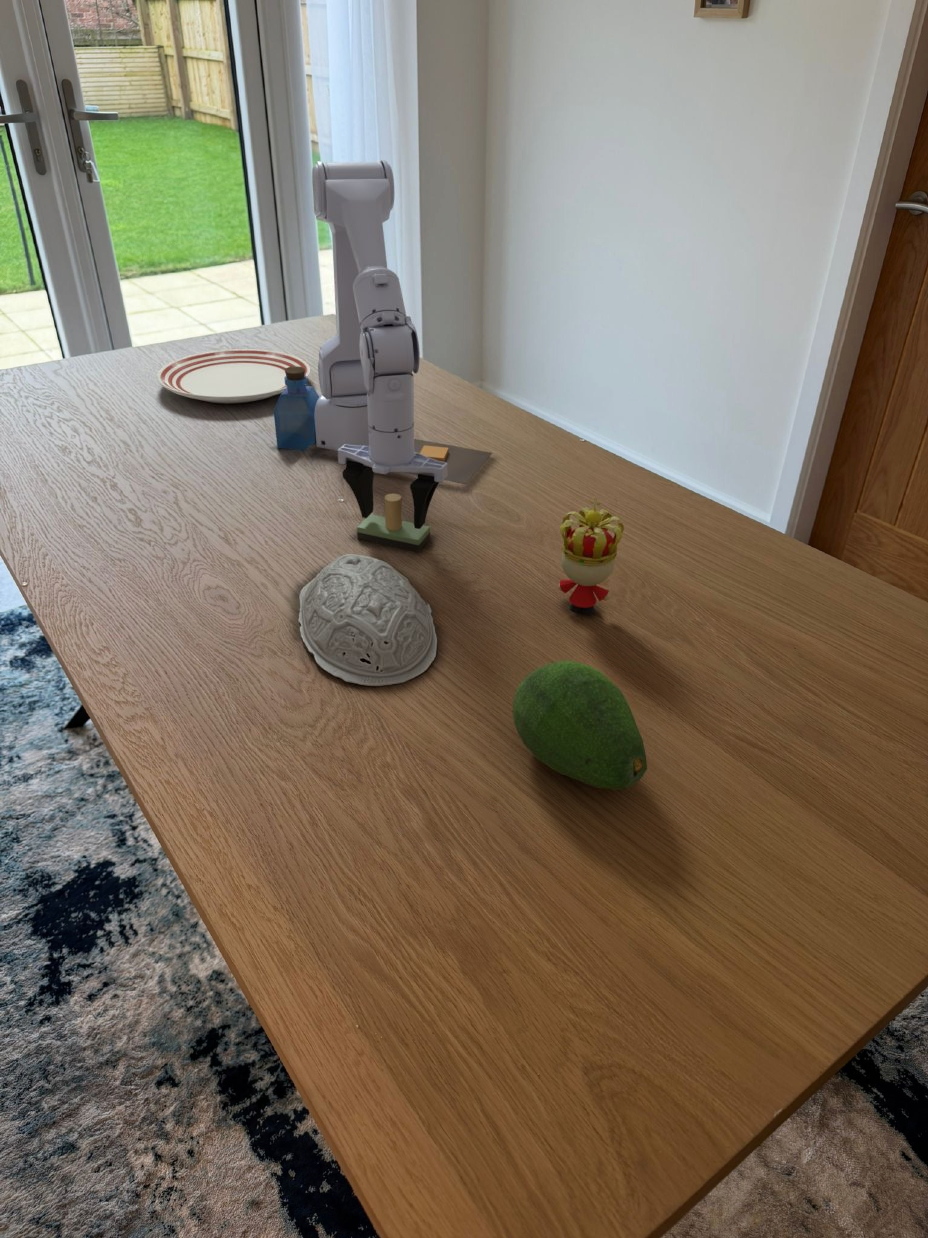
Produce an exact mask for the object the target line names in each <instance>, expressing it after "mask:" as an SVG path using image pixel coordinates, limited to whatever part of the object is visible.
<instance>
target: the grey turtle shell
mask: <svg viewBox="0 0 928 1238" xmlns="http://www.w3.org/2000/svg"><path fill="white" fill-rule="evenodd" d="M298 598H299V613H298V623H299V624H300V627H299V631H300V637H301V639H302V641H303V643H304V645H305V647H306V648H307V650H308V652H309V653H311V654H313V657H314V660H315V662H316V663H317V665H318V666H319V667H320V668H322V670H324V671H326V672H327V673H329V674H330V675H332V676H334V677H336V678H340V679H341V680H343V682H346V683H352V684H358V685H360V686H368V687H382V686H392V685H399V684H404V683H406V682H408V681H410V680H412V679H414V678H416V677H418V676H420V675H421V674H423V673H424V672H426V671H427V670H428V669H429V667H430V666H431V664H432V663H433V661H435V658H436V656H437V647H438V638H437V633H436V627H435V625H434V618H433V616H432V612H433V611H432V608H431V606H430V603H428V602H427V601H426V602H425V600H424V599H422V597H421V595H420V593H418V591H417V590H416V588H414V586H413V585H411V584H410V581H409V579H408V578H407V577H406V576H404V575H403V574H401V573H400V572H399V571H397V569H395V568H394V567H393V565H391V564H389V563H387V562H386V561H383V560H381V559H379V558H375V557H371V556H370V555H365V554H356V553H353V554H352V553H346V554H343V555H340V556H336V558H335V559H333V560H332V561H331V562H329V564H327V565H325V566H324V567H323V568H322V569H321V570H320V572H319V573H316V576H315V577H314V578H312V579H311V580H310V581H309V582H307V584H306V585H305V586H303V587H302V589H301V590H300V592H299V596H298ZM344 653H345V654H344ZM367 654H368V655H367ZM361 659H364V660H366V661H369V662H370V663H368V662H366V661H364V662H363V661H362V660H361ZM377 667H378V669H377Z"/></svg>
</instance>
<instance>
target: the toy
mask: <svg viewBox="0 0 928 1238" xmlns="http://www.w3.org/2000/svg"><path fill="white" fill-rule="evenodd" d="M593 500H594V501H592V500H589V505H590V504H591V505H592V504H593V509H591V507H581V508H580V509H579V511H578V512H577V511H573V510H572V511H569V512H567V513H566V514H565V515H564V516H563V518H562V523H561V525H560V526H559V527H560V528H559V531H560V534H561V536H562V540H563V541H562V544H561V545H562V547H561V551H562V552H561V561H560V562H561V567H562V570H563V572H564V574H565V575H566V577H567V578H568V579H560V580H559V583H558V585H557V589H558V590H559V591H560V592H562V593H564V594H567V593H568V592H569V591H571V590H572V589H573V588H574V587H575V589H574V590H573V592H571V594H570V595H569V597H568V600H569V602H570V604H569V609H570V611H572V612H574V613H582V614H584V615H588V616H589V615H592V614H594V613H595V611H596V610H595V605H596V604H597V600H598V601H599V602H601V601H606V602H607V601H609V600H610V599H611V593H610V590H608V589H606V588H604V587H601V586H599V585H600V584H601V583H603V582H605V581H606V580H607V579H609V577H610V575H611V574H612V573H613V572H614V568H615V564H616V558H617V554H618V544H619V543H620V542H621V540H622V539H623V533H624V530H625V525H624V523H623V521H622V520H621V519H620V518H619V517H618V516H617V515H616V516H615V515H614V516H613V515H612V513H611V511H609V510H607V509H603V508H601V509H600V510H599V511H598V510H597V509H596V508H597V507H596V505H597V506H599V507H600V506H601V504H602V503H601V502H597V501H598V498H596V497H594V498H593ZM571 515H573V517H574V518H575V519H577V520H573V519H572V518H570V517H571ZM612 522H613V523H614V522H617V524H618V526H617V525H613V524H611V523H612ZM576 524H577V525H578V527H576V528H574V529H573V528H572V526H573V525H576ZM608 530H609V531H612V532H613V534H614V536H612V535H611V533H609V531H608Z"/></svg>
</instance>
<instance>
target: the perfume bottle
mask: <svg viewBox="0 0 928 1238" xmlns="http://www.w3.org/2000/svg"><path fill="white" fill-rule="evenodd" d="M285 373H286V376H285V378H284V379H285V385H287V387H286V388H285V389H284V391H283V392H282V393H280V394H279V398H278V399H277V400H278V401H277V402H276V405H275V407H274V409H273V419H274V428H275V437H276V447H277V449H283V450H299V451H307V450H308V449H309V448H310V446H312V445H315V444H316V431H315V417H314V415H315V407H316V403H317V401H318V399H319V397H320V395H319V394H318V393H317V391H316V390H315V389H314V387H313V386H309V385H308V386H307V384H308V377H306V375H304V374H305V368H303V367H298V366H293V367H288V368H286V369H285Z"/></svg>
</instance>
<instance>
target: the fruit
mask: <svg viewBox="0 0 928 1238" xmlns="http://www.w3.org/2000/svg"><path fill="white" fill-rule="evenodd" d="M511 712H512V719H513V724H514V727H515V729H516V732H517V734H518V736H519V739H520V740H521V741H522V743H523V745H524V746H525V747H526V748H527V750H528V751H529V752H530V753H531V754H532V755H533V757H534V758H535V759H537V760H538V761H540V762H541V763H543V764H544V765H546V766H548V767H549V768H550V769H552V770H553V771H555V772H557V773H559V774H561V775H563V776H566V777H568V778H570V779H573V780H576V781H578V782H582V783H584V784H586V785H589V786H592V787H594V788H597V789H605V790H615V791H617V790H618V791H622V790H626V789H628V788H631V787H634V786H635V785H636V784H637V783H639V781H640V780H641V779H642V778H643V777H644V775H645V773H646V772H647V770H648V762H647V755H646V749H645V745H644V744H645V743H644V739H643V737H642V734H641V732H640V730H639V728H638V725H637V722H636V720H635V717H634V714H633V712H632V709H631V707H630V705H629V703H628V701H627V699H626V698H625V696H624V694H623V692H622V691H621V689H619V687H618V686H617V685H615V684H614V682H612V681H611V680H610V679H609V678H608V677H607V676H606V675H605V674H603V672H602V671H600V670H598V669H596V668H594V667H592V666H590V665H588V664H585V663H582V662H578V661H575V660H566V659H565V660H559V661H554V662H550V663H547V664H543V665H541V666H539V667H537V668H536V669H534V670H533V671H531V673H528V675H526V676H525V677H524V678H523V680H521V682H520V683H519V685H518V686H517V689H516V691H515V693H514V695H513V704H512V711H511Z"/></svg>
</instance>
